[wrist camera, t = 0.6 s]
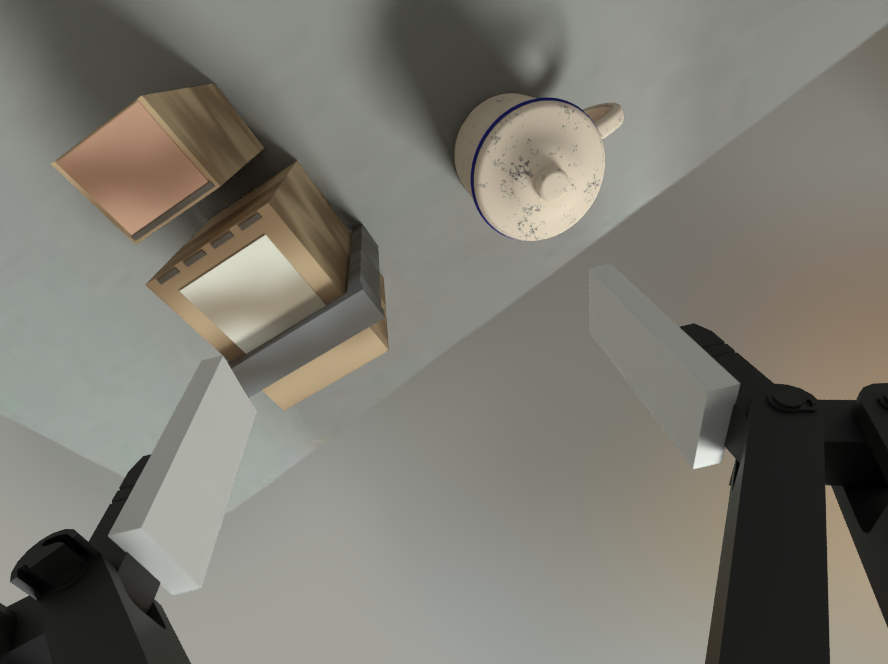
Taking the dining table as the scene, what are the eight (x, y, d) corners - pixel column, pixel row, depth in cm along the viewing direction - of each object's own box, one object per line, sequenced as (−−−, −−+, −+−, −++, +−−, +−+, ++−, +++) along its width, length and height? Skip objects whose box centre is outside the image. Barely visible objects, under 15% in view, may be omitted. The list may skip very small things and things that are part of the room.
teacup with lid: (480, 226, 40) (516, 281, 30) (430, 129, 35) (454, 157, 25) (604, 155, 38) (686, 189, 28) (569, 43, 33) (653, 37, 23)
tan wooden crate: (193, 231, 36) (117, 305, 25) (312, 149, 35) (287, 192, 24) (291, 333, 43) (265, 429, 32) (397, 269, 41) (408, 347, 30)
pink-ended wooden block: (150, 130, 32) (49, 164, 22) (214, 83, 31) (140, 95, 21) (203, 190, 35) (135, 245, 25) (264, 148, 34) (219, 186, 24)
